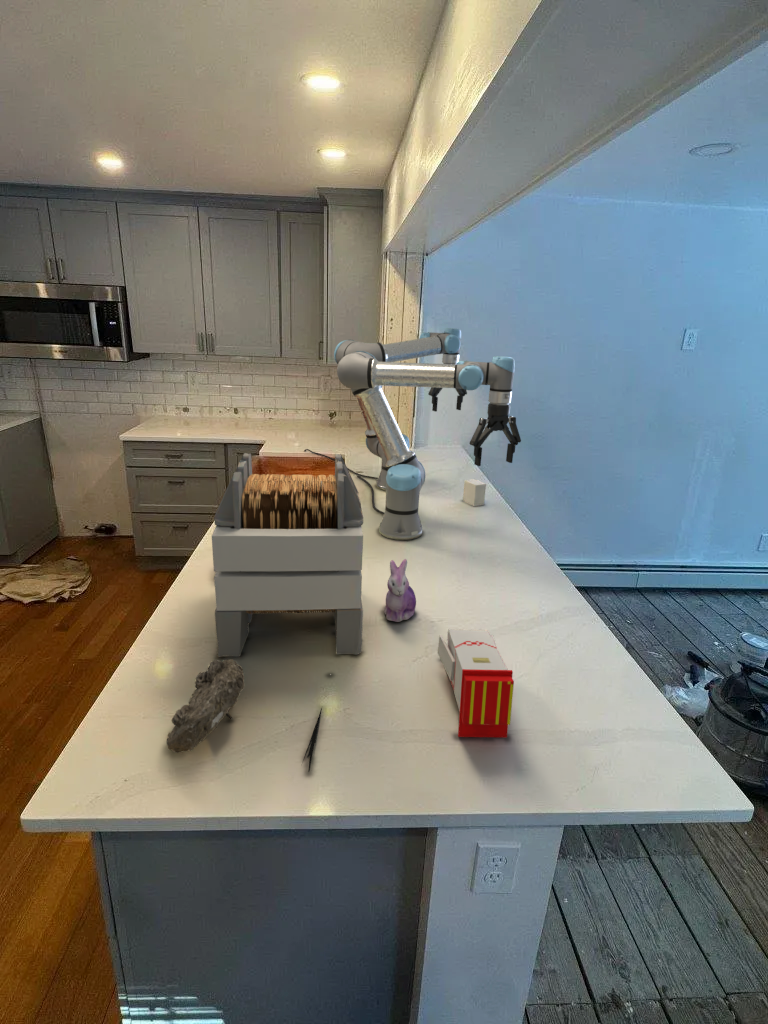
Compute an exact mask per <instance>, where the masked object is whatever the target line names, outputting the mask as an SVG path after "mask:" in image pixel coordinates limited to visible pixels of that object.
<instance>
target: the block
mask: <svg viewBox="0 0 768 1024" xmlns="http://www.w3.org/2000/svg"><path fill="white" fill-rule="evenodd" d="M463 483H464V484H463V493H462V502H464V503H466V504H468V505H470V506H472V507H478V506H479V507H480V506H484V505H485V497H486V489H487V484H486V483H485V482H483V481H480V480H478V479H476V478H472V479H471V478H470V479H464V482H463Z"/></svg>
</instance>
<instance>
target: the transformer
mask: <svg viewBox="0 0 768 1024" xmlns="http://www.w3.org/2000/svg"><path fill="white" fill-rule="evenodd" d="M334 459H335V461H334V474H329V475H328V476H327V475H325V474H318V475H313V474H290V475H289V474H288V475H287V474H286V475H285V474H279V473H278V474H275V473H274V474H273V473H272V474H270V473H266V474H265V473H262V474H259V473H253V463H252V453H248V452H247V453H246V452H244V453H242V456H241V459H240V460H239V462H238V465H237V467H236V469H235V471H234V472H233V474H232V476H231V478H230V480H229V483H228V485H227V487H226V490H225V492H224V494H223V496H222V498H221V501H220V503H219V504H218V507H217V510H216V512H215V514H214V517H213V522H214V525H215V528H214V529H213V532H212V534H211V548H212V562H213V563H212V565H213V572H215V571H217V572H215V575H214V577H213V579H214V594H215V610H214V620H215V634H216V635H215V636H216V643H217V653H216V655H217V657H218V658H224V657H240V656H241V654H242V651H243V648H244V647H245V644H246V640H247V638H248V636H249V624H251V622H252V619H253V615H254V614H255V615H256V614H260V615H261V614H273V613H274V614H307V613H308V614H309V613H311V614H314V613H315V614H317V613H333V615H334V635H335V654H336V655H356V656H357V655H359V654H361V653H362V650H363V619H364V618H363V617H364V608H363V601H362V586H363V585H362V584H363V574H362V571H363V549H364V533H363V532H364V531H363V529H362V528H363V527H362V525H363V524H364V514H363V508H362V504H361V500H360V495H359V491H358V488H357V485H356V484H355V482H354V479H353V478H352V475H351V473H350V471H349V470H348V469H347V468H348V466H347V464H346V462H345V460H344V458H343V456H342V454H341V453H335V456H334Z"/></svg>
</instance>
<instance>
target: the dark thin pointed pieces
mask: <svg viewBox="0 0 768 1024" xmlns="http://www.w3.org/2000/svg"><path fill="white" fill-rule="evenodd" d="M329 675H330V676H331V675H332V674H331V673H330V674H329ZM322 710H323V707H321V708H320V710H319V713H318V716H317V719H316V723H315V725H314V728H313V731H312V733H311V737H310V739H309V742H308V745H307V748H306V751H305V754H304V757H303V760H302V763H301V767H302V765H303V763H304V761H305V758H308V759H309V760H308V762H307V763H308V764H307V766H308V771H310V770H311V766H312V765H311V764H312V760H313V757H315V756H314V755H315V751H316V749H315V746H317V739H318V733H319V729H320V722H321V717H322V712H323V711H322ZM313 754H314V755H313ZM306 755H307V757H306Z"/></svg>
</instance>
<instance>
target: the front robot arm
mask: <svg viewBox="0 0 768 1024" xmlns="http://www.w3.org/2000/svg"><path fill="white" fill-rule="evenodd" d="M515 363H516V361H515V359H514V358H513V357H512V356H504V355H503V356H500V355H498V356H497V355H496V356H495V355H494V356H493V357H492V360H491V361H487V362H486V361H485V362H484V361H473V360H472V361H471V360H459V362H457V364H443V363H430V362H429V363H427V362H426V363H425V362H402V361H397V362H379V361H377V359H376V358H375V357H374V356H373V355H371V354H370V353H367V352H364V351H357V352H354V353H352V354H348V355H346V356H344V357H343V358H342V359H341V360H340V362H339V364H337V367H336V376H337V378H338V380H339V382H340V383H341V385H343V386H344V387H346V388H348V389H350V391H351V393H352V395H353V397H354V398H356V397H357V398H359V399H360V400H361V402H362V405H363V407H364V409H365V411H366V413H367V416H368V418H369V420H370V422H371V424H372V427H373V429H374V431H375V433H376V435H377V438H378V440H379V442H380V444H381V446H382V449H383V451H384V453H385V455H386V457H387V463H386V467H387V470H388V472H387V476H386V491H385V504H384V505H385V507H384V508H385V509H384V511H382V510H380V509H378V508H377V507H376V503H375V492H374V488H373V486H372V485H371V483H370V482H369V481H368V480H367V479H365V478H363V476H359V475H357V476H356V477H357V479H359V480H362V482H364V483H365V484H366V485H368V487H369V488H370V491H371V504H372V508H373V510H374V511H375V512H376V513H378V514H381V515H382V519H381V522H379V526H378V533H379V534H380V535H381V536H382V537H385V538H387V539H389V540H395V541H410V540H415V539H418V538H420V537H421V536H422V535H423V525H422V524H421V518H420V515H419V507H420V506H419V505H420V494H421V489H422V487H423V485H424V484H425V480H426V470H425V466H424V465H423V464H422V462H421V461H420V460H419V459H418V457H417V455H416V453H415V451H412V450H410V448H409V449H408V447H407V445H406V442H405V440H404V438H403V436H402V434H403V433H402V431H401V429H400V427H399V425H398V422H397V420H396V417H395V416H394V413H393V411H392V408H391V406H390V403H389V401H388V399H387V397H386V394H385V393H384V390H383V387H384V386H385V387H408V388H409V387H410V388H411V387H412V388H413V387H414V388H431V387H436V388H442V389H455V388H458V389H466V391H475V390H477V389H478V388H479V387H480V386H489V390H488V391H489V393H488V404H487V417H486V418H484V417H480V418H479V420H478V425H477V426H476V428H475V430H474V432H473V435H472V437H471V439H470V441H469V443H468V444H469V445H470V446H473V456H474V465H475V466H478V467H481V465H482V456H483V455H482V454H483V447H482V445H483V444H484V442H485V441H486V440H487V439H488V437H489V436H490V435H491V434H492V433H493V432H498V431H500V432H503V434H504V435H505V437H506V439H507V440H508V442H509V443H507V447H506V456H505V457H506V458H505V462H507V463H509V464H512V463H513V460H514V454H515V453H516V446H518V445H519V443H521V442H522V439H521V435H520V433H519V429H518V426H517V417H515V416H513V415H510V413H511V402H512V395H513V386H514V376H515V366H516V365H515ZM507 424H508V425H509V426H508V425H507Z"/></svg>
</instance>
